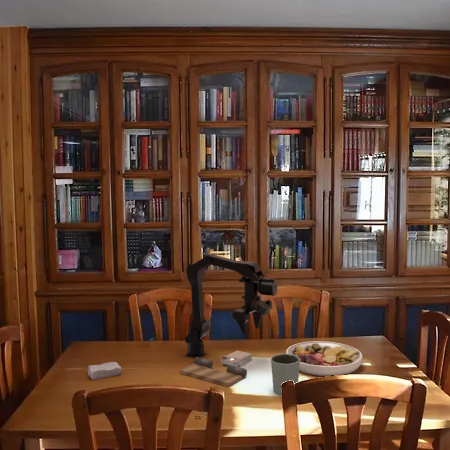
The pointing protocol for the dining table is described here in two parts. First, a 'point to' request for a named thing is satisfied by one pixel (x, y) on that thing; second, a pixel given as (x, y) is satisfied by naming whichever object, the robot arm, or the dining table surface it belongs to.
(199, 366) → the striped wooden board
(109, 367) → the stone block
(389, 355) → the dining table surface
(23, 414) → the dining table surface
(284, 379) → the gray green cup
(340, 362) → the bowl
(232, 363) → the pale pink block
